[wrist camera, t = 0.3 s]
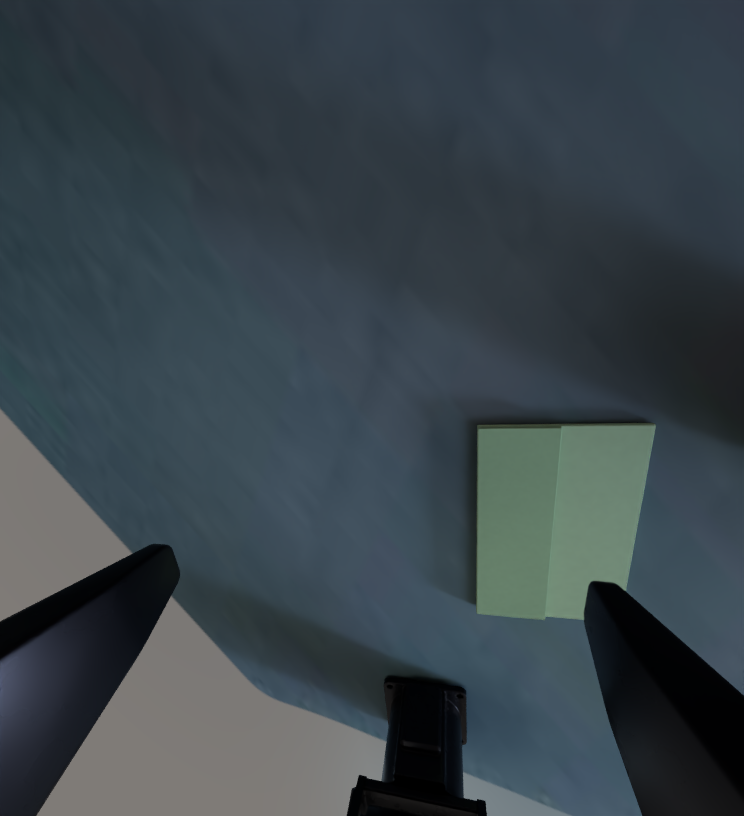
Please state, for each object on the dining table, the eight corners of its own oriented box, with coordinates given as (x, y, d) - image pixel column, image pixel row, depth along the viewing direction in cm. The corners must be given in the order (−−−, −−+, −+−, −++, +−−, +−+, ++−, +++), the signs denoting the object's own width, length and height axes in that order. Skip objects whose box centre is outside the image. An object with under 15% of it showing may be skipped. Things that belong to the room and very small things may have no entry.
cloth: (618, 619, 24) (621, 627, 24) (476, 606, 26) (476, 613, 26) (653, 422, 20) (659, 427, 19) (476, 424, 21) (477, 428, 21)
